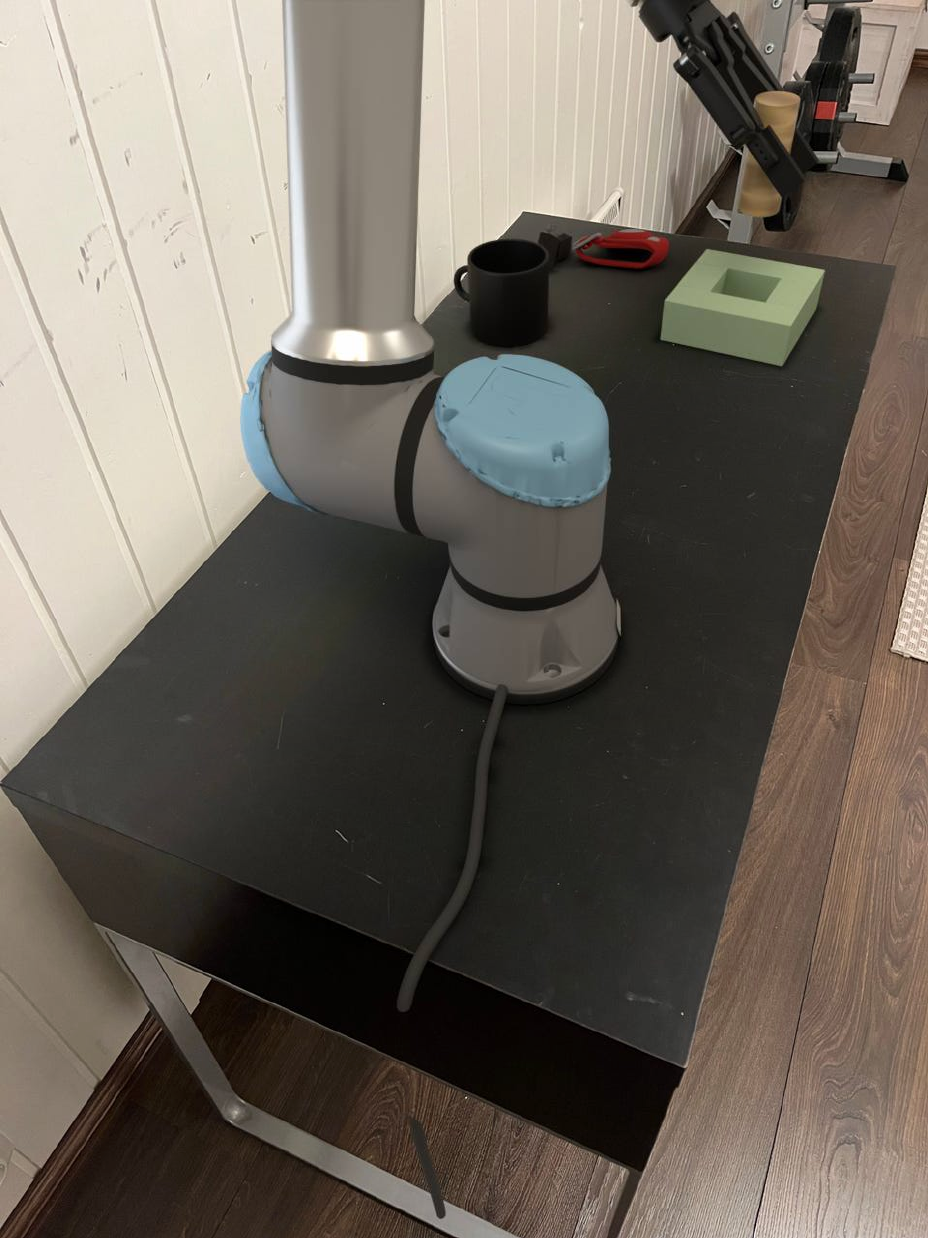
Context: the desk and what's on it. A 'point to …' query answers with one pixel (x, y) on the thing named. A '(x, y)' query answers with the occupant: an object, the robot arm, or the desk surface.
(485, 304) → the mug
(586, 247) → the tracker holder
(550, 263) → the lighter
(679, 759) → the desk surface
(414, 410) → the robot arm
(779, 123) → the tan cylinder
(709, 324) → the holder
